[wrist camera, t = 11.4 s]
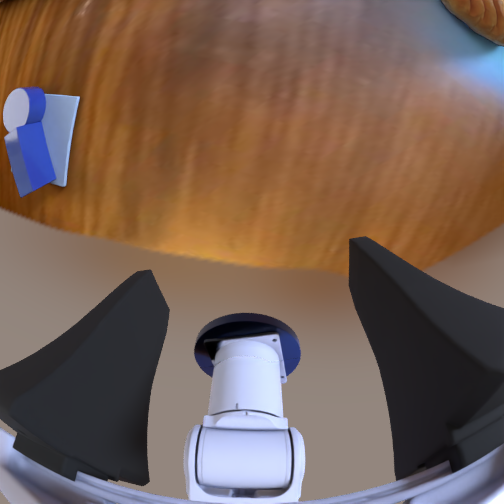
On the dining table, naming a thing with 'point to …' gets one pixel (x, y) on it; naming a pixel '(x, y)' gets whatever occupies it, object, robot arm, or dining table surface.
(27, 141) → the blue spoon
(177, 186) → the dining table surface
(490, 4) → the pastry
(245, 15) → the dining table surface
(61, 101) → the blue mat
